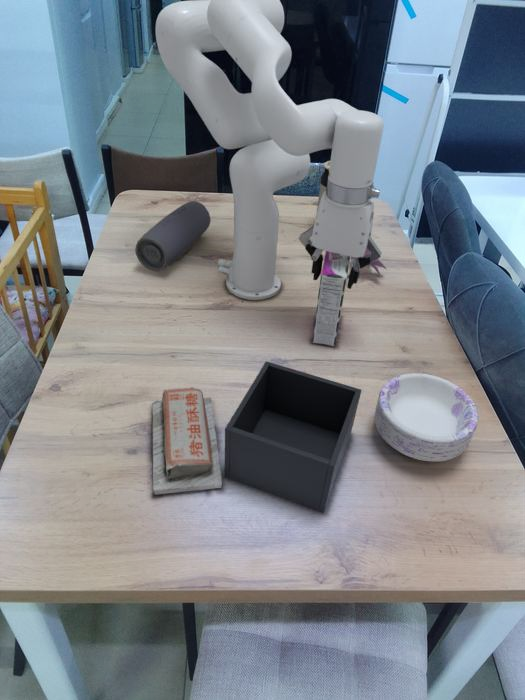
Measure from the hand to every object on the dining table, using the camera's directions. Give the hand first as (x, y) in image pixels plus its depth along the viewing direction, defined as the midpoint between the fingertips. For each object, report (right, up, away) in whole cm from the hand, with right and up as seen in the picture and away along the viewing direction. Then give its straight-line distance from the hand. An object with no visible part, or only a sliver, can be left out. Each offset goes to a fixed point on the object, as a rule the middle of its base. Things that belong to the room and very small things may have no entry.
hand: (333, 280), depth 97 cm
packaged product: (-26, -29, -18) cm, 43 cm away
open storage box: (-9, -30, -18) cm, 36 cm away
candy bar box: (-1, -9, +8) cm, 12 cm away
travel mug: (+5, +20, +44) cm, 48 cm away
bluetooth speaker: (-35, +10, +29) cm, 47 cm away
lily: (+11, +5, +26) cm, 29 cm away
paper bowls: (+12, -28, -14) cm, 33 cm away
